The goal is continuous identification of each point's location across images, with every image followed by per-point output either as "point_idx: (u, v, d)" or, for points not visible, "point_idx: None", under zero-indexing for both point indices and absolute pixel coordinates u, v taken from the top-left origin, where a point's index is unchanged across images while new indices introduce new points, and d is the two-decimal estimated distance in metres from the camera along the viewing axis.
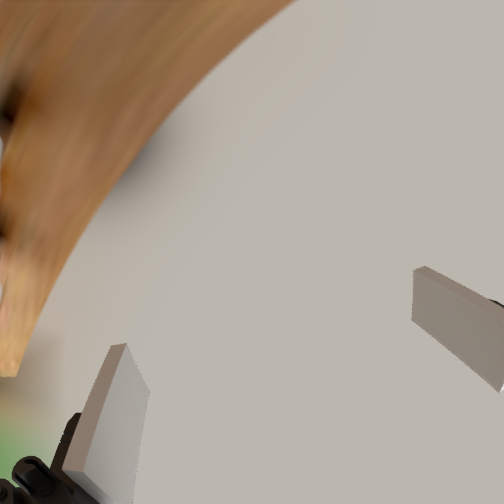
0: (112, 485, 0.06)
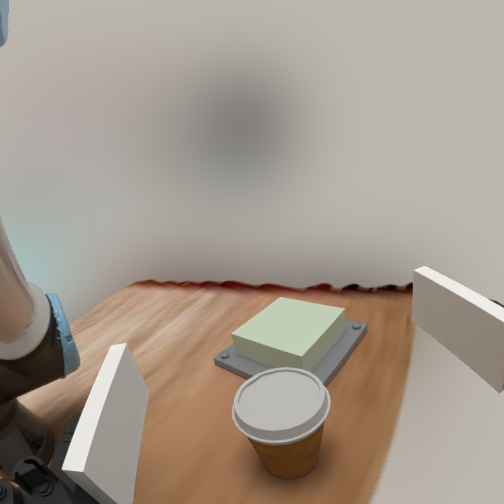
0: (112, 485, 0.06)
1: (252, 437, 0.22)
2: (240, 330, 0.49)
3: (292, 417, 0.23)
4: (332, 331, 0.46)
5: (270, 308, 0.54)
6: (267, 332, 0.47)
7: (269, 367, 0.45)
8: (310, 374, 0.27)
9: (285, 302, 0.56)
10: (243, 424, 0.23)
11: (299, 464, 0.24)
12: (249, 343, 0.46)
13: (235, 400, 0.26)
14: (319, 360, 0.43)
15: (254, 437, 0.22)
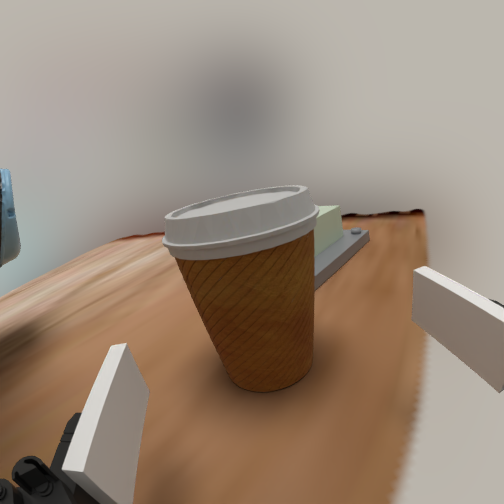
0: (112, 485, 0.06)
1: (181, 245, 0.14)
2: None
3: None
4: (325, 225, 0.38)
5: None
6: None
7: None
8: (287, 186, 0.19)
9: None
10: (170, 227, 0.15)
11: (276, 347, 0.16)
12: None
13: (170, 213, 0.18)
14: None
15: (184, 244, 0.14)
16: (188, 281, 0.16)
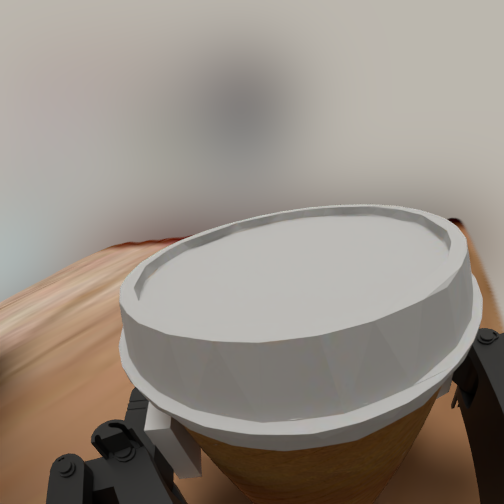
0: (188, 445, 0.07)
1: (159, 400, 0.04)
2: None
3: (365, 288, 0.05)
4: None
5: None
6: None
7: None
8: (377, 205, 0.09)
9: None
10: (128, 331, 0.05)
11: None
12: None
13: (139, 266, 0.08)
14: None
15: (168, 401, 0.04)
16: None
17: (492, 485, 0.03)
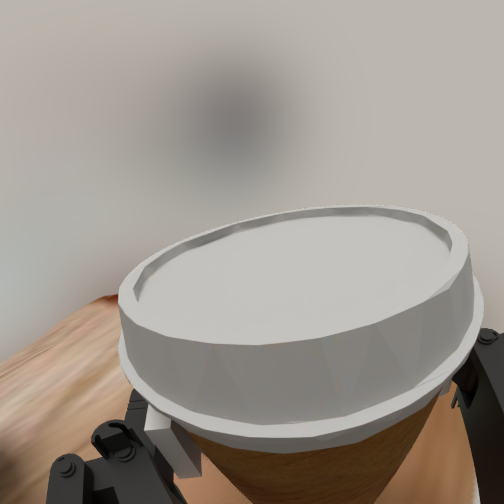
0: (188, 445, 0.07)
1: (158, 402, 0.04)
2: None
3: (366, 289, 0.05)
4: None
5: None
6: None
7: None
8: (378, 205, 0.09)
9: None
10: (126, 332, 0.05)
11: None
12: None
13: (138, 267, 0.08)
14: None
15: (167, 403, 0.04)
16: None
17: (493, 485, 0.03)
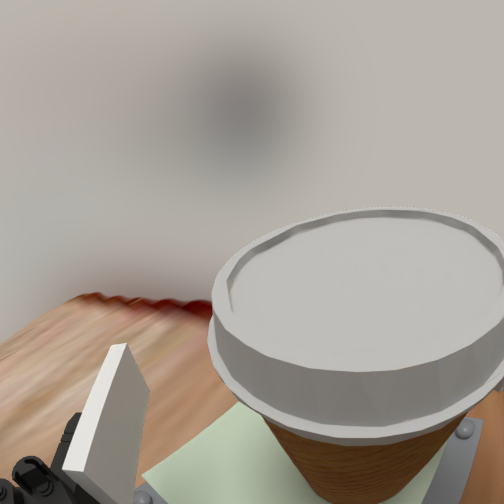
0: (112, 485, 0.06)
1: (285, 420, 0.05)
2: (165, 471, 0.13)
3: (447, 306, 0.05)
4: None
5: None
6: (236, 497, 0.11)
7: None
8: (428, 210, 0.09)
9: None
10: (242, 358, 0.06)
11: (404, 480, 0.07)
12: None
13: (218, 280, 0.08)
14: None
15: (295, 419, 0.05)
16: (276, 432, 0.07)
17: None
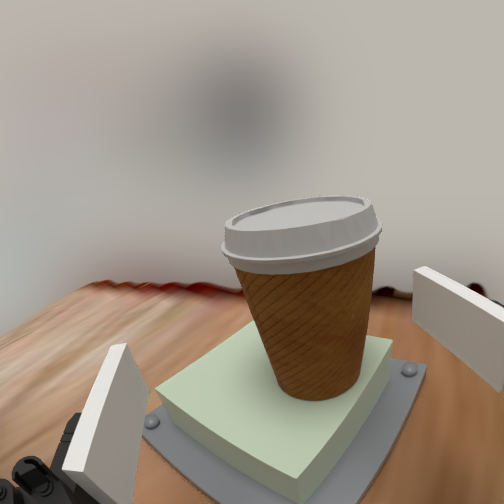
0: (112, 485, 0.06)
1: (246, 258, 0.14)
2: (173, 383, 0.22)
3: None
4: (369, 393, 0.19)
5: (241, 336, 0.27)
6: (223, 395, 0.20)
7: (228, 466, 0.18)
8: None
9: None
10: (233, 237, 0.15)
11: (331, 360, 0.16)
12: (185, 416, 0.19)
13: (229, 220, 0.18)
14: (338, 458, 0.16)
15: (250, 257, 0.14)
16: (248, 292, 0.16)
17: None
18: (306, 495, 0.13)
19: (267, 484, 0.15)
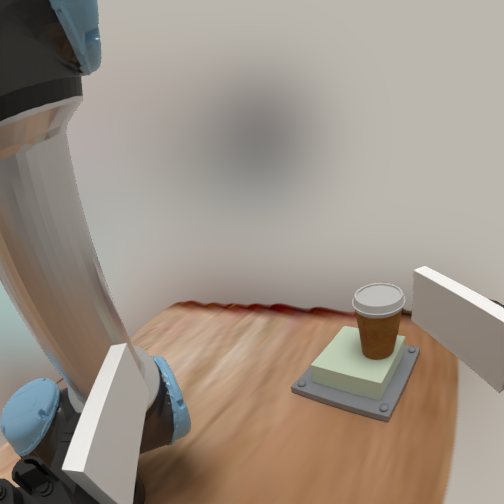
0: (112, 485, 0.06)
1: (368, 313, 0.44)
2: (318, 361, 0.51)
3: (388, 301, 0.44)
4: (397, 357, 0.48)
5: (339, 338, 0.57)
6: (344, 362, 0.49)
7: (346, 392, 0.47)
8: None
9: (350, 331, 0.58)
10: (363, 307, 0.45)
11: (387, 343, 0.46)
12: (329, 373, 0.49)
13: (355, 297, 0.47)
14: (388, 383, 0.46)
15: (370, 313, 0.44)
16: (364, 322, 0.46)
17: None
18: (381, 395, 0.43)
19: (365, 394, 0.44)
